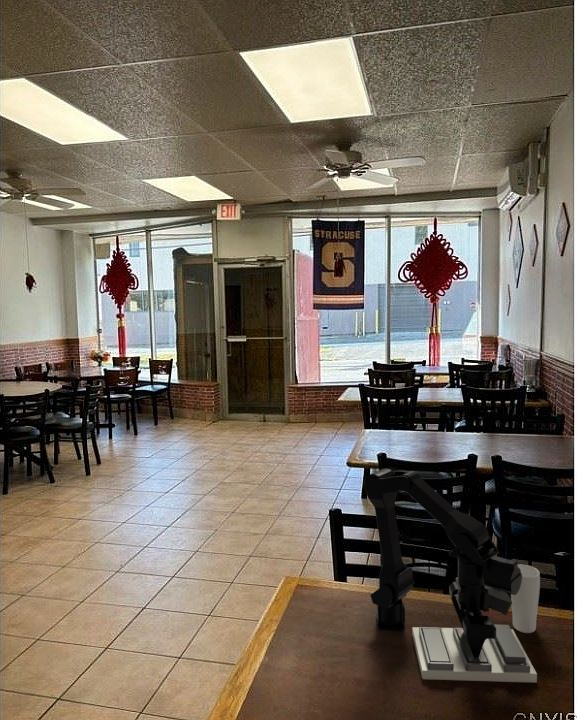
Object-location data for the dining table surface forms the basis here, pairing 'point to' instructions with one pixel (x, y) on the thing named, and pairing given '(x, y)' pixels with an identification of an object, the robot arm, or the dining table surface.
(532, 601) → the drinking glass
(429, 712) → the dining table surface
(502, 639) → the button right
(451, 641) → the switch panel base
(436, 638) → the button left
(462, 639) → the button middle
